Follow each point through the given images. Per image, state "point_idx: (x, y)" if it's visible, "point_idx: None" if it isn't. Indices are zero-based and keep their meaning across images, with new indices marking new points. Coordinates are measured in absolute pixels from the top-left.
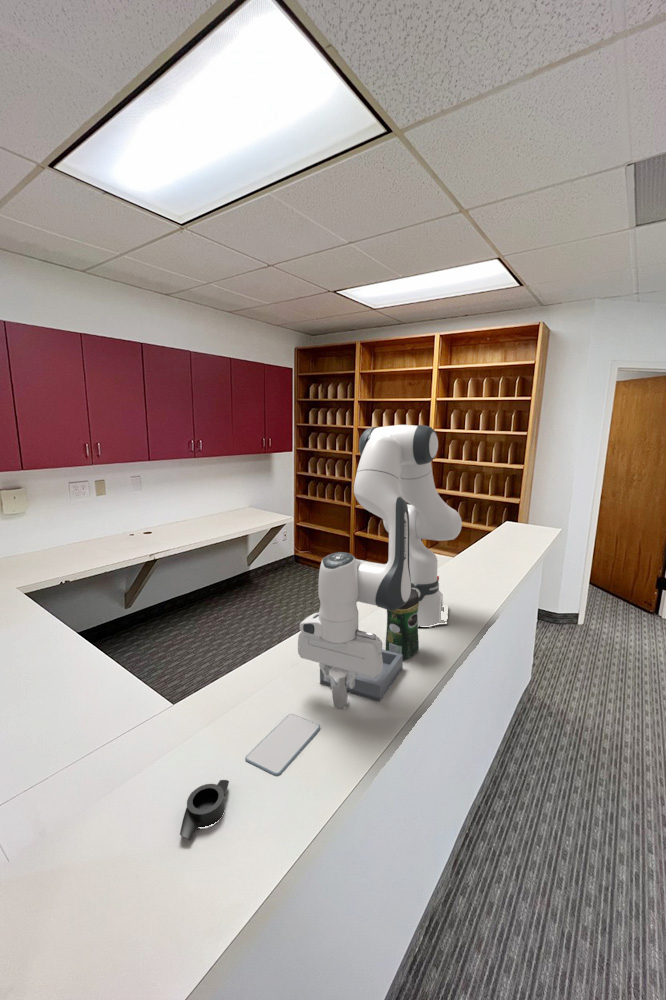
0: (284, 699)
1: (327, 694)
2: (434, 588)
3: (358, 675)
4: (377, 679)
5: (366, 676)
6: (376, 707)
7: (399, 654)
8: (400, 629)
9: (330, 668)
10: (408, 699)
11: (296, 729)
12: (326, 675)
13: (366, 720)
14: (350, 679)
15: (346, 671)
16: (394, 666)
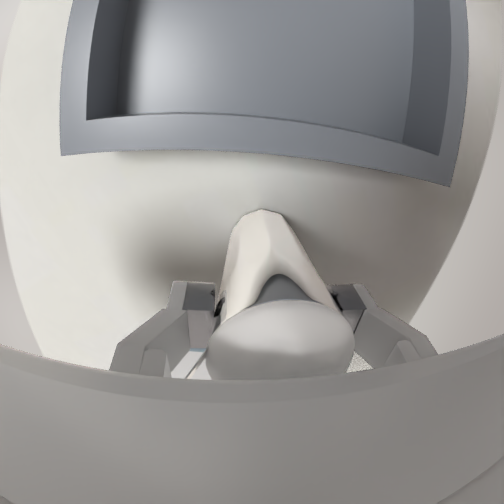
0: (66, 287)
1: (174, 195)
2: None
3: (274, 14)
4: (377, 30)
5: (320, 13)
6: (396, 198)
7: None
8: None
9: (203, 358)
10: (473, 125)
11: (193, 377)
12: (191, 346)
13: (370, 271)
14: (362, 356)
15: (345, 371)
16: (463, 4)
